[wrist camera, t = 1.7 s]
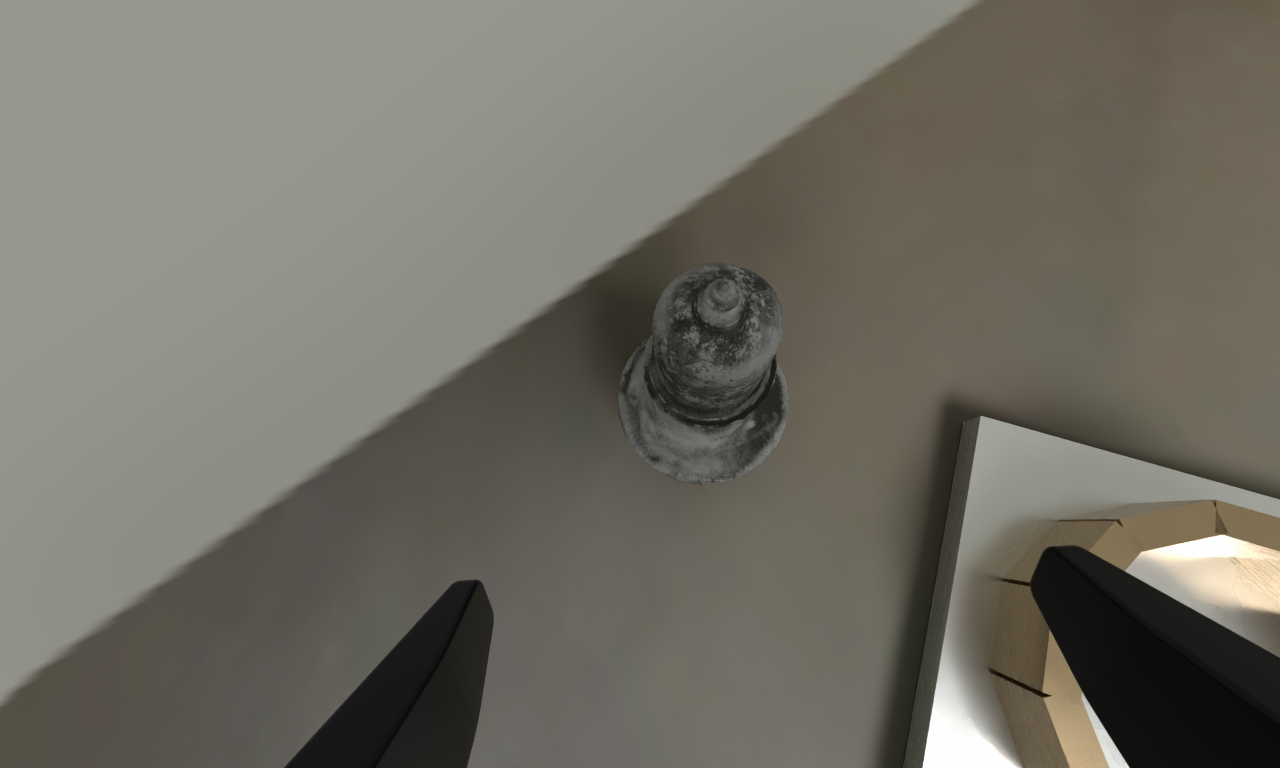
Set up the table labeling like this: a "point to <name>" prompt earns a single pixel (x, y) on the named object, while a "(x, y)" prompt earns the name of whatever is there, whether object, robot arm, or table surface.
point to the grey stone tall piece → (707, 377)
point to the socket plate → (1009, 617)
